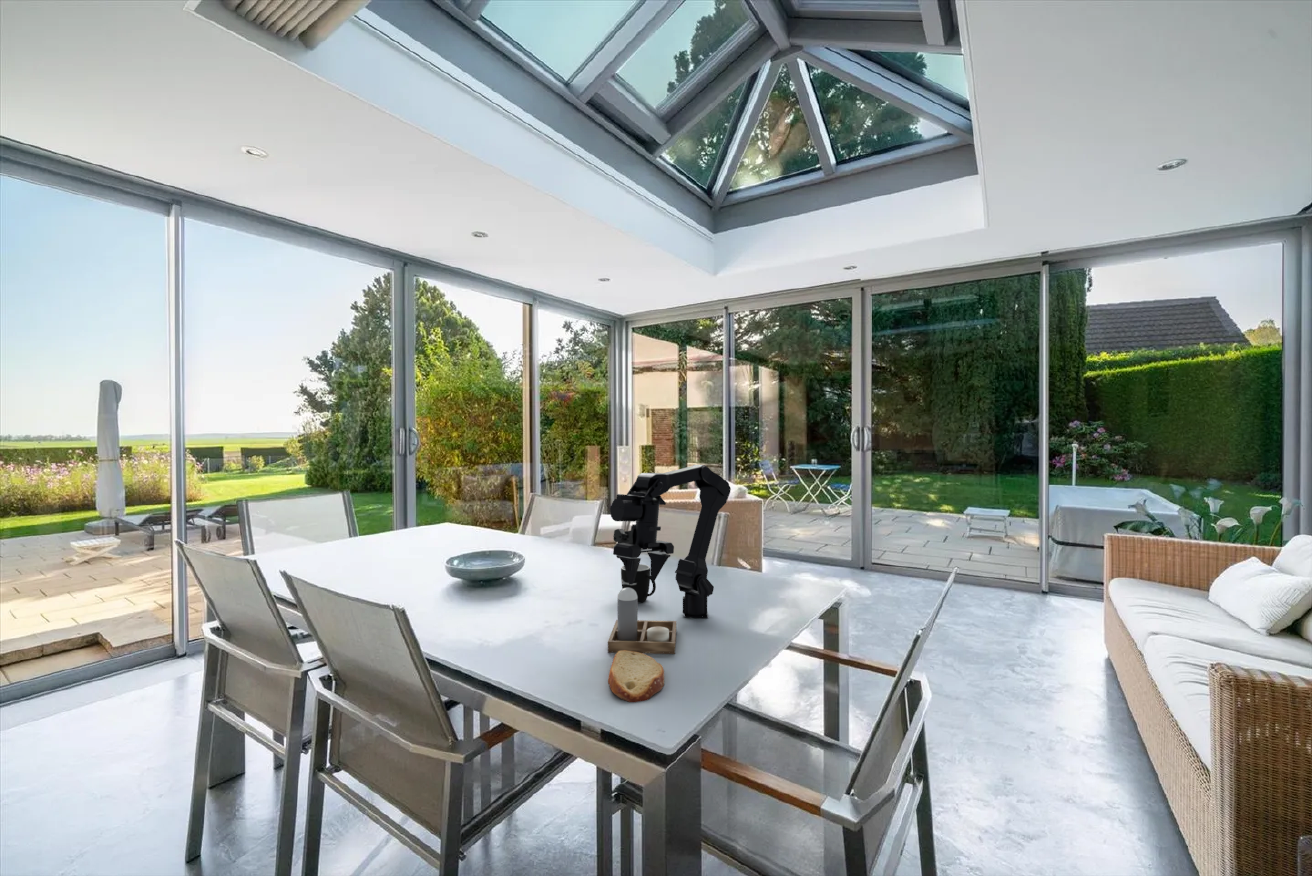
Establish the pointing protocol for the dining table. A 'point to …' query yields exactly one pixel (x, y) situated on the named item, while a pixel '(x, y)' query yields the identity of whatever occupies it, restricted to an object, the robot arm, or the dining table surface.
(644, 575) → the mug
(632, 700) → the slice of bread
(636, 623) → the grey rounded cylinder
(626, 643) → the caddy
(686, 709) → the dining table surface
